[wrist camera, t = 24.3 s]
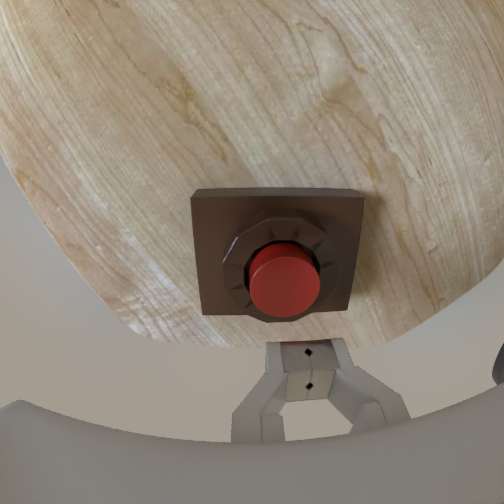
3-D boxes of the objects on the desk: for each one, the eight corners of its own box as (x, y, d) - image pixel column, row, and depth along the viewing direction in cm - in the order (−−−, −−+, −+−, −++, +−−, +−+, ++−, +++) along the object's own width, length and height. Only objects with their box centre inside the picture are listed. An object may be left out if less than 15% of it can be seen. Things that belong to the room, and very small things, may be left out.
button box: (352, 189, 17) (377, 206, 14) (339, 293, 21) (355, 326, 17) (196, 189, 17) (183, 206, 14) (205, 297, 21) (198, 332, 17)
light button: (315, 242, 15) (323, 256, 13) (310, 298, 17) (316, 315, 15) (248, 243, 15) (249, 257, 13) (249, 300, 16) (250, 318, 15)
